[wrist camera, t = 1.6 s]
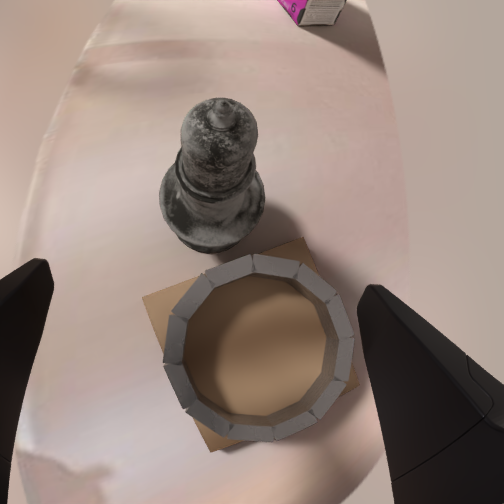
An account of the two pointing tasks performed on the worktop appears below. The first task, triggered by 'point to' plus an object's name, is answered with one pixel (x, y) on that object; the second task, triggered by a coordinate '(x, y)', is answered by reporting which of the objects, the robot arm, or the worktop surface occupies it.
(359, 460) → the worktop surface
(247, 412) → the socket base
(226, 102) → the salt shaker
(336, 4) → the candy bar box
